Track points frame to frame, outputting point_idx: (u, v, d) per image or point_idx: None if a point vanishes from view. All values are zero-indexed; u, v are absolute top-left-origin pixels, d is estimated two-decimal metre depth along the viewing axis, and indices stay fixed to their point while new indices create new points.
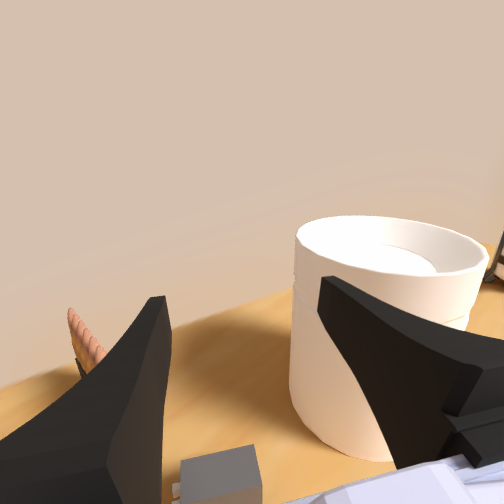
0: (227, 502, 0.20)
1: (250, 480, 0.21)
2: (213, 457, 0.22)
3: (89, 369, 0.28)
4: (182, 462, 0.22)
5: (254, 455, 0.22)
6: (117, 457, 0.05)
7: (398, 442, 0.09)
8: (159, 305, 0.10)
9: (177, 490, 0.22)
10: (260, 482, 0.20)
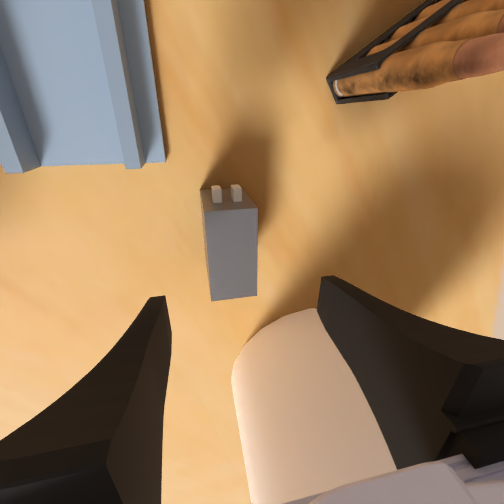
0: None
1: (217, 290, 0.17)
2: (252, 249, 0.16)
3: None
4: (254, 210, 0.15)
5: (243, 295, 0.18)
6: (117, 457, 0.05)
7: (398, 442, 0.09)
8: (159, 305, 0.10)
9: (233, 194, 0.16)
10: (213, 299, 0.18)
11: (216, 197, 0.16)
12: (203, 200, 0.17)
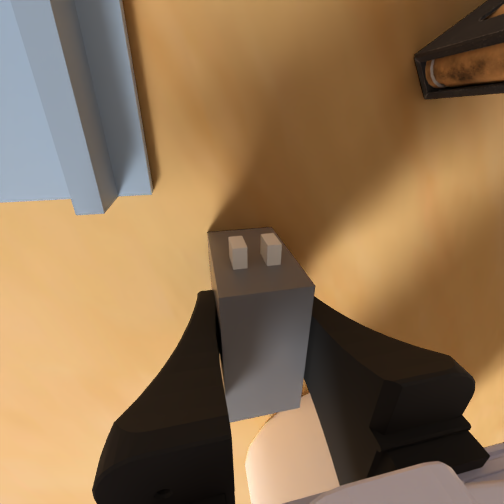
0: (220, 351, 0.10)
1: (238, 408, 0.10)
2: (299, 347, 0.10)
3: None
4: (309, 290, 0.09)
5: (279, 409, 0.11)
6: None
7: (339, 457, 0.08)
8: (212, 298, 0.11)
9: (267, 253, 0.10)
10: (231, 420, 0.11)
11: (238, 260, 0.09)
12: (215, 262, 0.10)
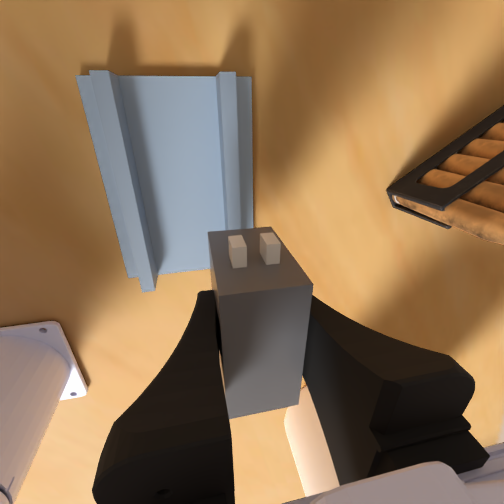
0: (220, 348, 0.11)
1: (238, 405, 0.11)
2: (297, 345, 0.10)
3: None
4: (308, 288, 0.09)
5: (278, 406, 0.11)
6: None
7: (339, 457, 0.08)
8: (212, 298, 0.11)
9: (266, 252, 0.10)
10: (230, 417, 0.11)
11: (238, 259, 0.09)
12: (215, 261, 0.10)
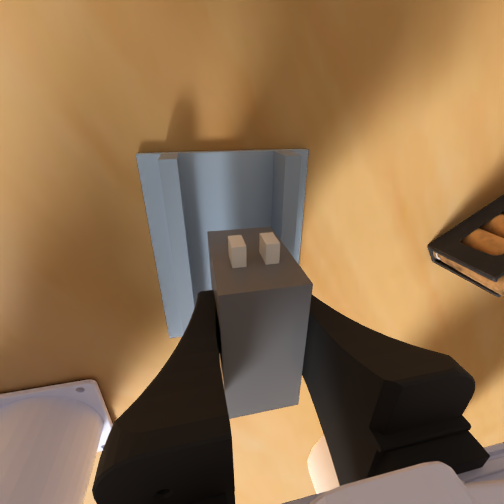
0: None
1: (237, 404, 0.11)
2: (297, 345, 0.10)
3: None
4: (307, 288, 0.09)
5: (277, 406, 0.11)
6: None
7: (339, 457, 0.08)
8: (212, 298, 0.11)
9: (265, 252, 0.10)
10: (230, 416, 0.11)
11: (237, 259, 0.09)
12: (214, 261, 0.10)
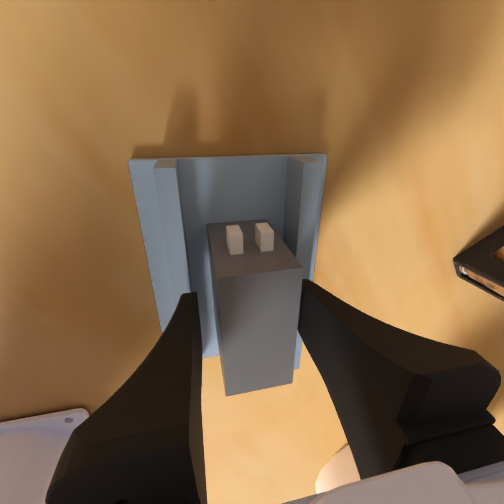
0: (219, 330, 0.12)
1: (235, 382, 0.11)
2: (290, 325, 0.11)
3: None
4: (298, 271, 0.10)
5: (273, 384, 0.12)
6: (191, 441, 0.05)
7: (361, 452, 0.08)
8: (194, 301, 0.11)
9: (260, 240, 0.11)
10: (229, 394, 0.12)
11: (235, 246, 0.10)
12: (213, 248, 0.11)
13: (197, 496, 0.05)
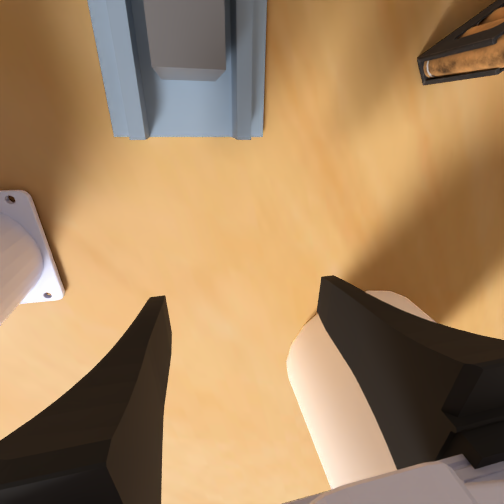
0: None
1: (161, 43, 0.11)
2: None
3: None
4: None
5: (204, 65, 0.11)
6: (117, 457, 0.05)
7: (398, 442, 0.09)
8: (159, 305, 0.10)
9: None
10: (155, 63, 0.11)
11: None
12: None
13: None
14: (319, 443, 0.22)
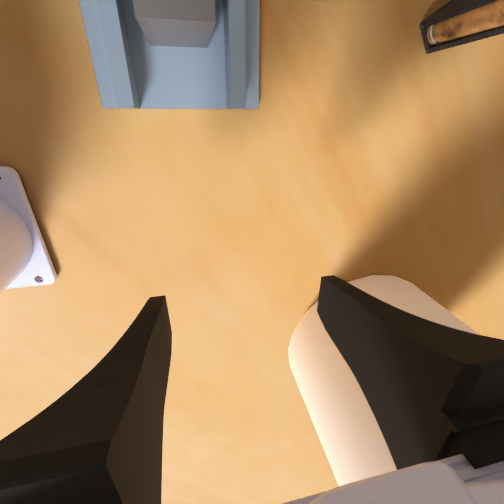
0: None
1: None
2: None
3: None
4: None
5: (192, 16, 0.11)
6: (117, 457, 0.05)
7: (398, 442, 0.09)
8: (159, 305, 0.10)
9: None
10: (139, 14, 0.10)
11: None
12: None
13: None
14: (322, 431, 0.21)
